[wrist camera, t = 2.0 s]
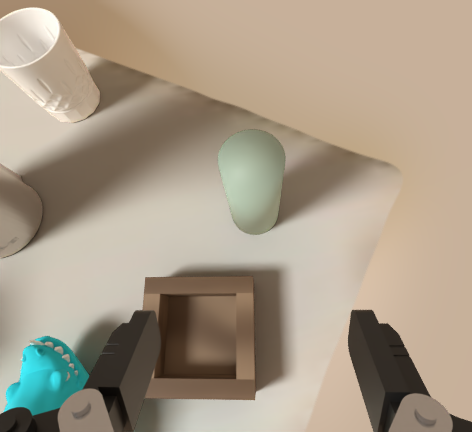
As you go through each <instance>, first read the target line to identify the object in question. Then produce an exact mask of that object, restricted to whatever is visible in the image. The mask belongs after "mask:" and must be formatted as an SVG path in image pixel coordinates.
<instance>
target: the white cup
mask: <svg viewBox="0 0 472 432" xmlns="http://www.w3.org/2000/svg"><path fill="white" fill-rule="evenodd" d="M0 71H2V72H3V73H4V74H5V75H6V76H7V77H8V78H9V79H10V80H11V81H13V82H14V83H15V84H16V85H17V86H18V87H19V88H20V89H21V90H22V91H24V92H25V93H26V94H27V95H28V96H30V97H31V98H32V99H33V100H34V101H35V102H36V103H38V104H39V105H40V106H41V107H43V108H44V109H45V110H46V111H48V112H49V113H50V114H51V115H52V116H53V117H55V118H56V119H58V120H59V121H61V122H69V123H74V122H77V121H80V120H84V119H85V118H87V117H88V116H89V115H91V114H92V113H93V112H94V111H95V109H96V108H97V106H98V104H99V102H100V91H99V89H98V88H97V86H96V84H95V82H94V81H93V79H92V77H91V76H90V72H89V70H88V69H87V67H86V65H85V63H84V62H83V60H82V59H81V57H80V55H79V53H78V51H77V50H76V48H75V46H74V45H73V43H72V42H71V40H70V38H69V37H68V35H67V33H66V32H65V30H64V28H63V27H62V25H61V23H60V22H59V20H58V18H57V17H56V16H55V15H54V14H53V13H52V12H50V11H48V10H45V9H42V8H24V9H20V10H17V11H14V12H12V13H10V14H8V15H6V16H4V17H3V18H1V19H0Z"/></svg>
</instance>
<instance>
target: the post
mask: <svg viewBox="0 0 472 432" xmlns="http://www.w3.org/2000/svg"><path fill="white" fill-rule="evenodd" d="M218 166H219V170H220V174H221V178H222V181H223V185H224V189H225V192H226V196H227V199H228V203H229V207H230V210H231V214H232V218H233V221H234V223H235V224H236V226H237V227H238V228H239V229H240V230H241V231H243V232H245V233H247V234H252V235H258V234H263V233H265V232H267V231H269V230H270V229H271V228H272V227H273V226H274V225H275V223H276V221H277V218H278V212H279V205H280V198H281V190H282V183H283V175H284V168H285V152H284V149H283V147H282V145H281V143H280V142H279V141H278V140H277V139H276V138H275V137H274V136H273V135H271V134H269V133H267V132H265V131H261V130H253V129H251V130H244V131H240V132H238V133H236V134H234V135H232V136H231V137H229V138H228V139H227V140H226V141H225V142H224V144H223V145H222V147H221V148H220V151H219V154H218Z"/></svg>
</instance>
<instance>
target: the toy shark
mask: <svg viewBox="0 0 472 432" xmlns="http://www.w3.org/2000/svg"><path fill="white" fill-rule="evenodd" d="M29 343H31V345H30V346H28V347H26V348H25V349H24V351H23V358H22V359H21V360H20V361H23V363H22V368H21V369H20V371H21V375H20V380H19V381H18V382H17V383H14V384H12V385H11V386H9V388H8V389H7V391H6V399H7V402H8V403H7V405H6V407H5V410H4V412H5V411H7V410H9V409H12V408H16V407H25V408H27V409H29V410H30V411H31V413H32V415H37V414H40V413H44V412H47V411H51V410H54V409H57V408H60V407H61V406H62V404H63V403H64V402H65V401H66V400H67V399H68V398H69V397H70V396H71V395H73V394H74V393H76V392H78V391H80V390H82V389H83V387H84V386H85V384H86V382H87V380H88V378H89V374H88V373H87V371H86V370H85V368H84V367H83V365H82V364H81V363H80V361H79V360H78V358H77V357H76V356H75V354H74V353H73V352H72V350H71V349H70V348H69V347H68V346H67V345H66V344H65V343H63V342H62V341H60V340H58V339H55V338H52V337H50V336H44V337H41V338H37V339H35V340H31V341H29Z"/></svg>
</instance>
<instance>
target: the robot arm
mask: <svg viewBox="0 0 472 432" xmlns="http://www.w3.org/2000/svg"><path fill="white" fill-rule="evenodd" d="M42 214H43V211H42V203H41V199H40V197H39V196H38V194H37V192H36V191H35V190H34V189H32V188H31V187H30V186H28V185H26V184H25V183H23V181H22V178H21V176H19V175H18V174H16V173H14V172H13V171H11V170H10V169H8V168H6V167H5V166H3V165H2V164H0V258H4V257H7V256H10V255H12V254H14V253H16V252H18V251H19V250H21V249H22V248H23V247H24V246H26V245H27V244H28V243H29V241H30V240H31V239H32V238H33V237H34V235H35V234H36V232H37V230H38V228H39V226H40V223H41V219H42ZM348 347H349V352H350V357H351V360H352V363H353V366H354V370H355V373H356V376H357V379H358V382H359V386H360V389H361V392H362V396H363V399H364V402H365V405H366V409H367V412H368V415H369V418H370V422H371V425H372V428H373V431H374V432H472V422H470V421H467V420H464V419H461V418H458V417H455V416H453V415H451V414H449V413H448V411H447V410H446V409H445V408H444V406H443V405H441V404H440V403H439V402H438V401H436V400H435V399H433V398H431V396H430V395H429V393H428V391H427V389H426V387H425V385H424V383H423V381H422V379H421V377H420V375H419V373H418V371H417V369H416V368H415V365H414V363H413V362H412V359H411V358H410V357H409V354H408V352H407V350H406V348H405V347H404V344H403V342H402V340H401V338H400V336H399V334H398V333H397V332H396V331H395V330H394V329H393V328H392V327H391V326H390V325H389V324H379V323H378V320H377V319H376V316H375V314H374V312H373V311H372V310H352V312H351V318H350V326H349V335H348ZM160 349H161V336H160V331H159V326H158V322H157V317H156V313H155V311H154V310H137V311H135V312H134V314H133V316H132V318H131V320H130V322H129V323H122V324H121V325H120V326H119V327H118V328H117V329H116V330H115V331H114V332H113V333H112V335H111V337H110V338H109V340H108V342H107V346H105V348H104V350H103V352H102V355H100V357H99V359H98V361H97V363H96V365H95V367H94V369H93V371H92V372H91V374H90V376H89V378H88V380H87V382H86V384H85V386H84V387H83V389H82V390H80V391H78V392H76V393H74V394H73V395H71V396H70V397H69V398H68V399H67V400H66V401H65V402H64V403H63V404H62V406H61V407H60V408H57V409H54V410H51V411H47V412H44V413H40V414H37V415H32V413H31V411H30V410H29V409H27V408H25V407H16V408H12V409H9V410H7V411H5V412H3V413H2V414H0V432H123V431H126V432H133V431H134V428H135V425H136V422H137V419H138V416H139V413H140V410H141V407H142V404H143V401H144V398H145V395H146V392H147V389H148V386H149V383H150V380H151V377H152V374H153V371H154V368H155V365H156V362H157V359H158V356H159V353H160Z"/></svg>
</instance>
